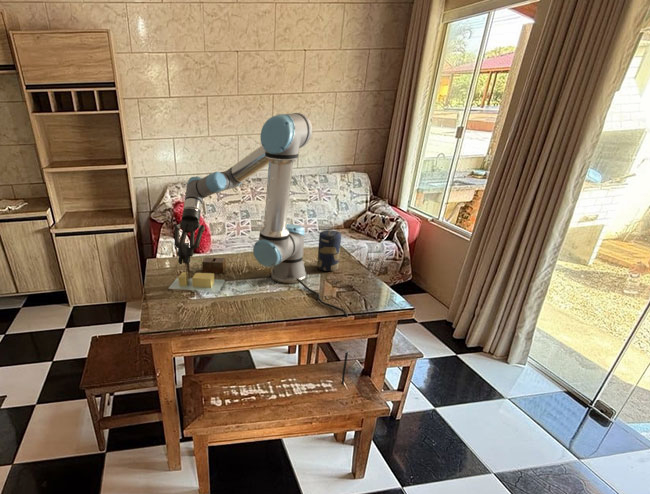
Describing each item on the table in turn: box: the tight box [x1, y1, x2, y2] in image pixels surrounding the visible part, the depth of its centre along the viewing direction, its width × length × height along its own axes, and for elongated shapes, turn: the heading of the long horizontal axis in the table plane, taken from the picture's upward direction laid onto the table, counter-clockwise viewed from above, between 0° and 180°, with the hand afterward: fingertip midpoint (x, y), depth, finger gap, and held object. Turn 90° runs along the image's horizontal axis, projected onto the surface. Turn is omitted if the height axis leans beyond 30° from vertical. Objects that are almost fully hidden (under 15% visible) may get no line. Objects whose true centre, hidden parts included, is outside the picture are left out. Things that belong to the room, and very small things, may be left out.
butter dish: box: [168, 277, 225, 292], centre depth 175 cm, size 22×12×1 cm, turn 78°
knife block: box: [201, 257, 227, 274], centre depth 187 cm, size 10×6×6 cm, turn 78°
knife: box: [181, 242, 191, 284], centre depth 171 cm, size 2×3×17 cm
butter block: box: [191, 272, 215, 288], centre depth 173 cm, size 8×6×4 cm
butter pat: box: [177, 271, 187, 286], centre depth 174 cm, size 3×6×4 cm, turn 168°
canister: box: [316, 229, 342, 272], centre depth 182 cm, size 10×10×18 cm
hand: (183, 263), depth 167 cm, fingers closed on knife, 2 cm apart
